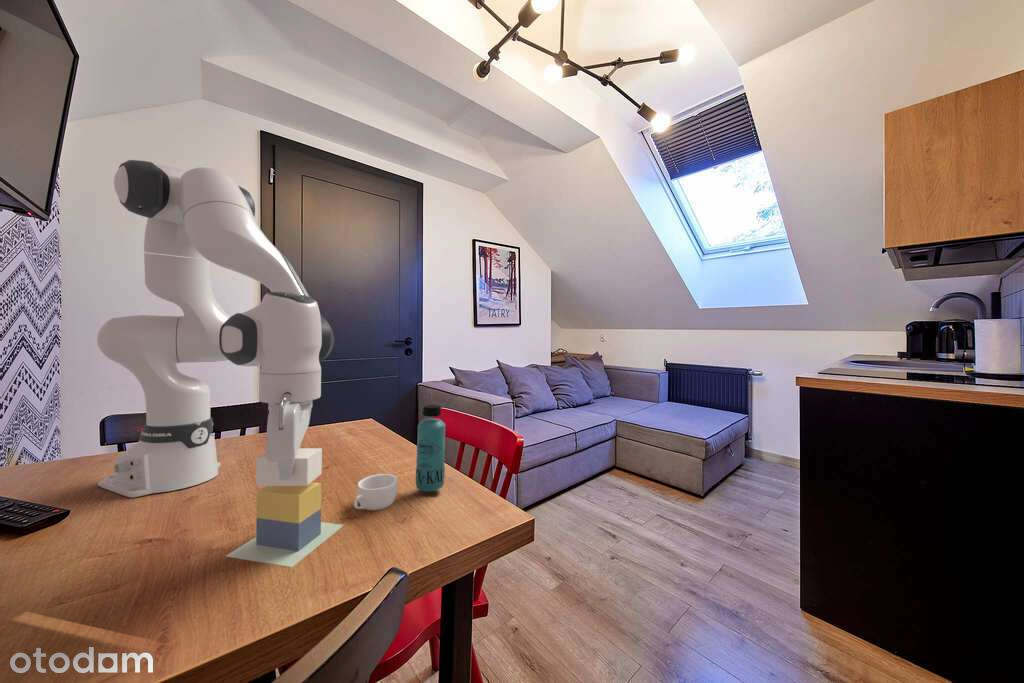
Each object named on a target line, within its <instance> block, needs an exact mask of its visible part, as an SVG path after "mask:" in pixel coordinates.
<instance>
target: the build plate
mask: <svg viewBox="0 0 1024 683" xmlns="http://www.w3.org/2000/svg"><path fill="white" fill-rule="evenodd" d="M344 526H345V525H344V524H340V523H339V524H338V523H332V522H324V521H321V534H320V535H319V536H318V537H316V538H315V539H314V540H312V541H311V542H310V543H309V544H307V545H306V546H305V547H303V548H302V549H301V550H299V551H294V550H287V549H281V548H274V547H268V546H261V545H256V536H255V537H254V538H252V539H250V540H249V541H247V542H246V543H243V545H241V546H239V547H237V548H236V549H234V550H233V551H231V552H229V553H228V554H226V555H225V557H226V558H227V557H228V558H233V559H238V560H239V559H240V560H245V561H251V562H257V563H263V564H268V565H274V566H282V567H286V568H293V567H294V566H295V565H297V564H298V563H299V562H300V561H302V560H303V559H304V558H305V557H307V556H308V555H309V554H310V553H312V552H313V551H314V550H315V549H317V548H318V547H319V546H320V545H322V544H323V543H325V541H326V540H328V539H329V538H330V537H331V536H333V535H334V534H335V533H337V532H338V531H339V530H340V529H342V528H343V527H344Z"/></svg>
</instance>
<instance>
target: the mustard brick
mask: <svg viewBox="0 0 1024 683" xmlns="http://www.w3.org/2000/svg"><path fill="white" fill-rule="evenodd" d="M320 509H321V510H322V483H321V482H314V481H312V482H311V483H310V484H309V485H307V486H263V487H262V488H260V489H258V490H256V519H257V518H262V519H269V520H276V521H284V522H291V523H298V524H299V523H301V522H302V521H303V520H305V519H306V518H308V517H309V516H311V515H312V514H314V513H315V512H317V511H318V510H320Z"/></svg>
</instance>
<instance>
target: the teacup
mask: <svg viewBox="0 0 1024 683" xmlns="http://www.w3.org/2000/svg"><path fill="white" fill-rule="evenodd" d="M397 489H398V478H397V476H395V475H393V474H389V473H379V474H373V475H369V476H365V477H364V478H362V479H361V480H359V481H358V482H357V496H356V497H355V498H354V502H353V507H354V509H357V510H366V511H380V510H384V509H386V508H389V507H390V506H392V504H393V503H394V501H395V500H396V498H397V497H396V496H397ZM358 504H359V505H360V506H358Z"/></svg>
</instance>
